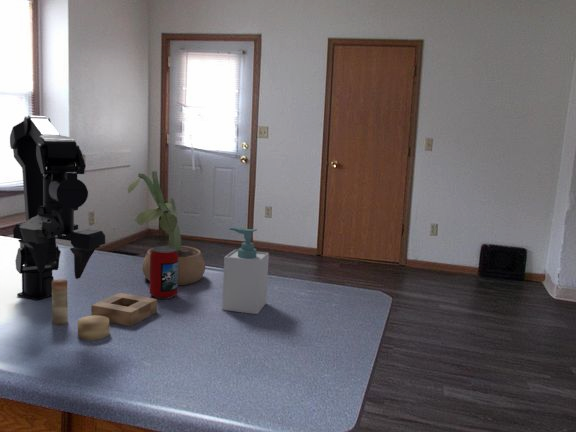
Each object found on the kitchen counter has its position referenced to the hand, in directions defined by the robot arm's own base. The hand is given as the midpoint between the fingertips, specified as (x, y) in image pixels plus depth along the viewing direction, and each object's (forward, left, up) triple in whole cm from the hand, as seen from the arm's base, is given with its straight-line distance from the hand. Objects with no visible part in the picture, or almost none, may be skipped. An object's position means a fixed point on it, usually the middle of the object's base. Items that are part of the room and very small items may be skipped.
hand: (59, 275), depth 116 cm
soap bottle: (+30, +28, -11) cm, 42 cm away
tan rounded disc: (+10, -2, -10) cm, 15 cm away
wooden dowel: (0, 0, -10) cm, 10 cm away
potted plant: (+2, +38, -11) cm, 39 cm away
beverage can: (+9, +26, -11) cm, 29 cm away
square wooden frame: (+9, +10, -10) cm, 17 cm away
